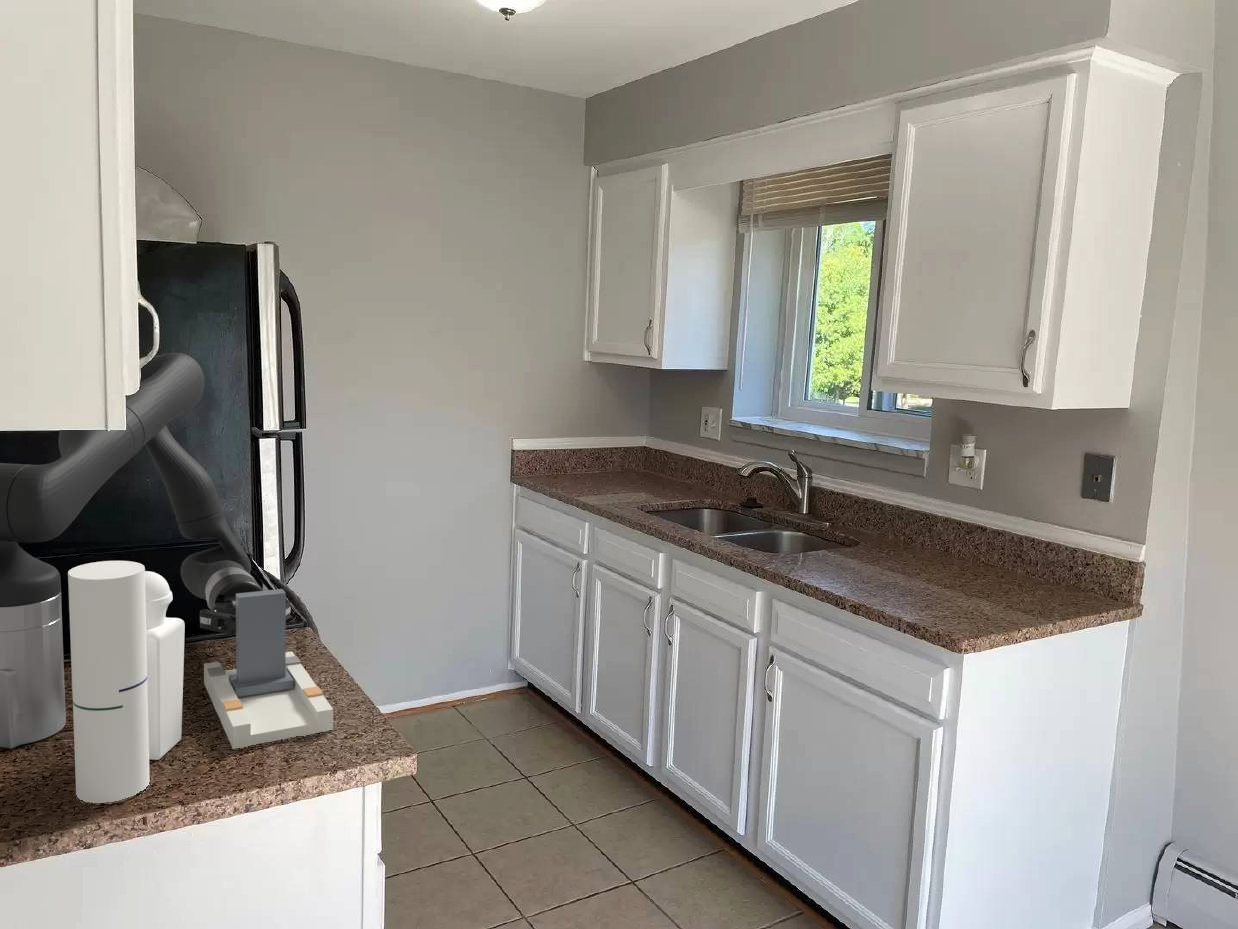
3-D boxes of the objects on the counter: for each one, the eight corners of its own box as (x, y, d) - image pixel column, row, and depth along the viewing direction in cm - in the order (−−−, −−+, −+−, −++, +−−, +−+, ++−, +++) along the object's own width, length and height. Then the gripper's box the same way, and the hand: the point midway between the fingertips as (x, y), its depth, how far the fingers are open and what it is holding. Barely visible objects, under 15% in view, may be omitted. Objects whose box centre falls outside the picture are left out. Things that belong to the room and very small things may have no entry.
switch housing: (204, 683, 131) (203, 661, 130) (291, 670, 137) (292, 649, 137) (233, 749, 113) (233, 724, 112) (332, 731, 119) (333, 707, 119)
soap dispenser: (187, 738, 115) (185, 566, 112) (160, 763, 109) (157, 581, 105) (135, 734, 115) (131, 562, 112) (105, 759, 109) (100, 578, 105)
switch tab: (228, 683, 127) (228, 591, 125) (284, 675, 131) (285, 585, 129) (235, 697, 123) (235, 602, 121) (293, 688, 127) (293, 595, 125)
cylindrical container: (162, 786, 104) (158, 570, 99) (96, 812, 98) (89, 583, 94) (128, 766, 107) (123, 557, 103) (63, 790, 102) (54, 569, 98)
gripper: (187, 577, 137) (206, 613, 123) (280, 569, 144) (308, 601, 130) (187, 626, 138) (207, 667, 124) (280, 615, 145) (308, 652, 131)
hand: (259, 633), depth 127 cm, fingers closed
